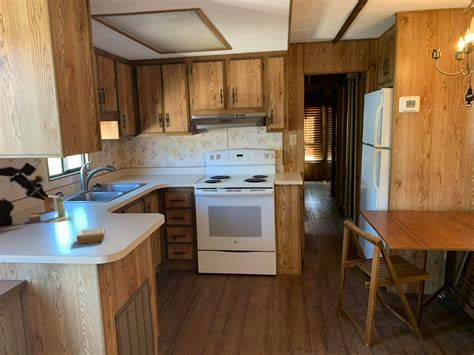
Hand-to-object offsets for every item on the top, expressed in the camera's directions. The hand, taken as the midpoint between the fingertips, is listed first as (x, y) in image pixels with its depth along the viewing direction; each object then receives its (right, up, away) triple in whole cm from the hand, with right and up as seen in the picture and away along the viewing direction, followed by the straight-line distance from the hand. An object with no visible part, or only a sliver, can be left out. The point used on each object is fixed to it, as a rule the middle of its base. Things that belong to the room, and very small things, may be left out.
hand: (46, 198), depth 218 cm
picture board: (+9, -13, -1) cm, 16 cm away
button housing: (-3, -14, -6) cm, 16 cm away
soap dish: (+47, -18, -46) cm, 68 cm away
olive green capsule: (+8, -12, +4) cm, 14 cm away
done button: (-3, -12, -7) cm, 14 cm away
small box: (-8, -11, +24) cm, 27 cm away
